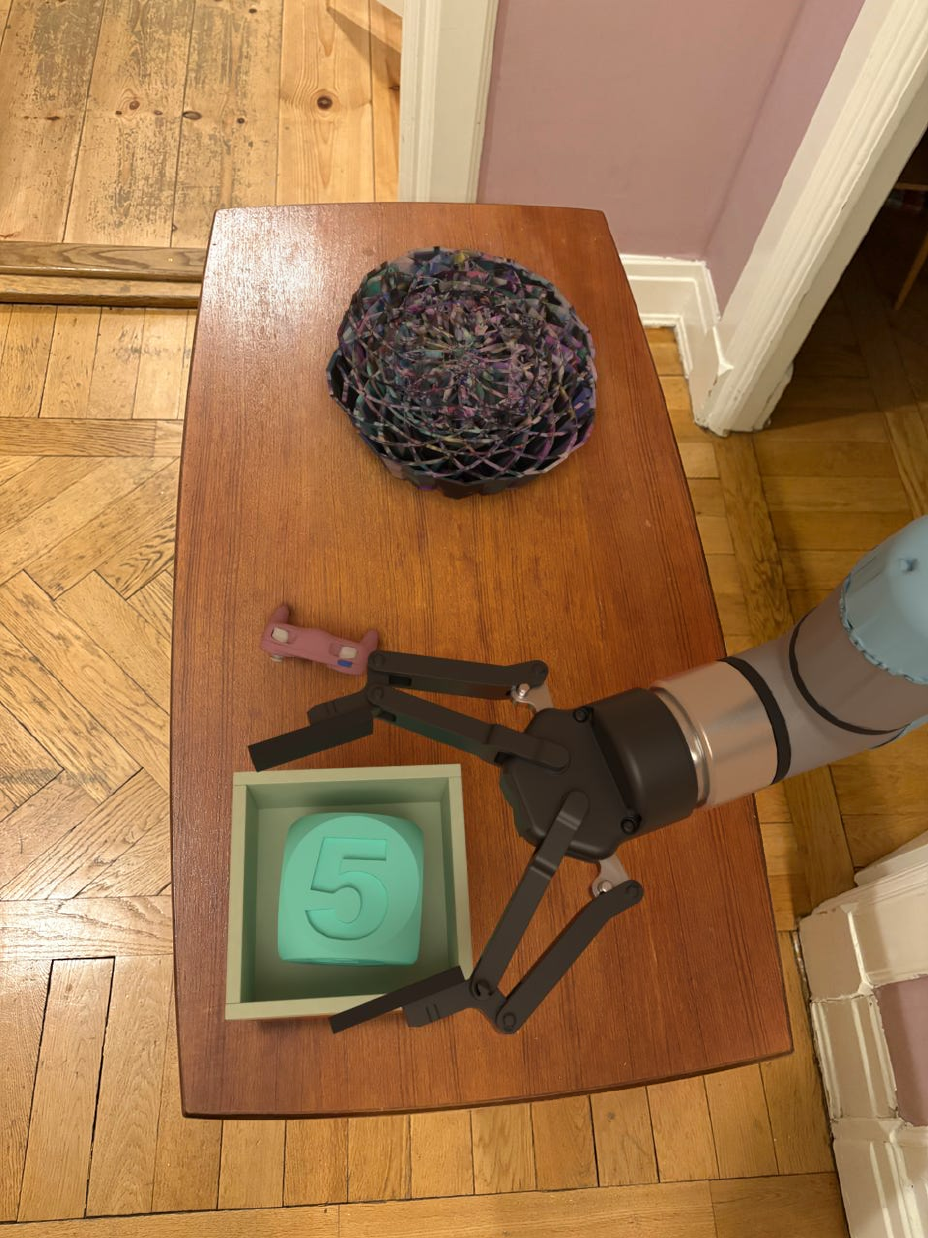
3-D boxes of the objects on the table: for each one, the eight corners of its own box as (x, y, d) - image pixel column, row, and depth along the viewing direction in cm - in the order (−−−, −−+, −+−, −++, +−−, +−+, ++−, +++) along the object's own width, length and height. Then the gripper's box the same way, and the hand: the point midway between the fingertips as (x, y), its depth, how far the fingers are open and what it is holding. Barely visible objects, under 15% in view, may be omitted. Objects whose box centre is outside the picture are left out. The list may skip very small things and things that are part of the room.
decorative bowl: (324, 526, 92) (319, 480, 83) (334, 289, 101) (331, 222, 91) (584, 534, 94) (608, 490, 85) (571, 302, 103) (592, 238, 94)
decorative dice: (418, 839, 63) (425, 815, 55) (413, 968, 59) (420, 960, 52) (296, 834, 62) (287, 809, 55) (284, 964, 59) (273, 955, 52)
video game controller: (266, 651, 86) (247, 658, 79) (278, 602, 86) (260, 605, 79) (371, 679, 86) (361, 688, 79) (384, 630, 86) (375, 635, 79)
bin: (462, 1006, 60) (475, 1003, 52) (242, 1020, 58) (224, 1020, 51) (450, 792, 65) (460, 763, 58) (248, 800, 63) (233, 771, 56)
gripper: (746, 981, 51) (369, 1144, 46) (565, 582, 59) (232, 685, 55) (805, 974, 44) (370, 1164, 39) (592, 524, 53) (212, 636, 48)
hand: (288, 886), depth 47 cm, fingers open, 13 cm apart
